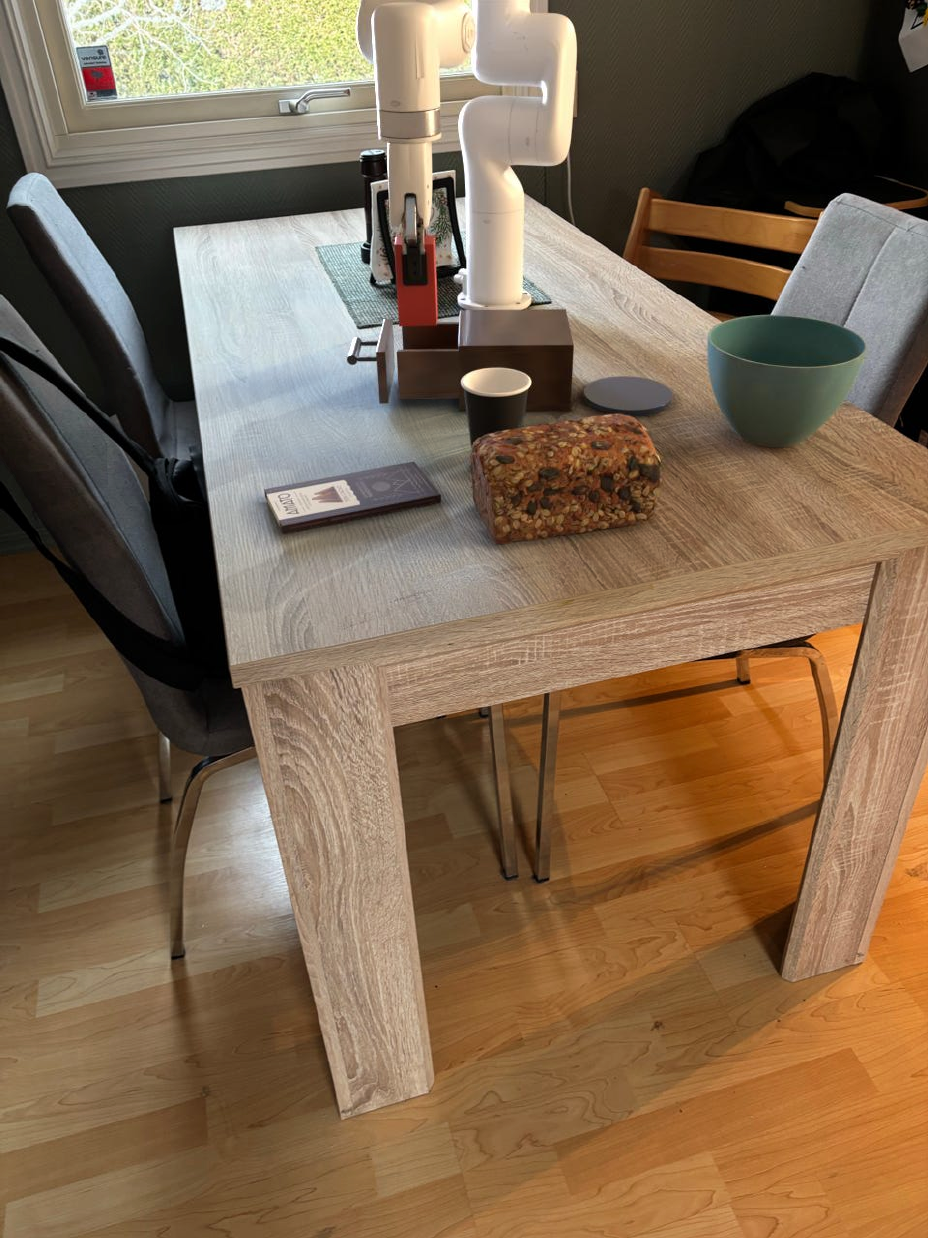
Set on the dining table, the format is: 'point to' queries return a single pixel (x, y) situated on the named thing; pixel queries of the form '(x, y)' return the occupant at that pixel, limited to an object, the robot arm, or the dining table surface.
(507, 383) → the dixie cup
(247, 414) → the dining table surface
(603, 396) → the plate
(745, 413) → the green bowl
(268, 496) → the chocolate bar
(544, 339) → the cabinet
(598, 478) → the bread
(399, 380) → the drawer
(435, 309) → the red rectangular block
